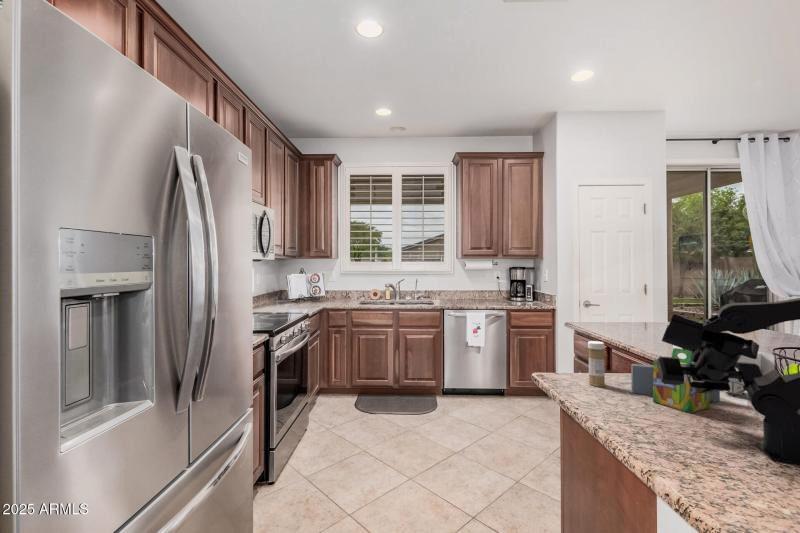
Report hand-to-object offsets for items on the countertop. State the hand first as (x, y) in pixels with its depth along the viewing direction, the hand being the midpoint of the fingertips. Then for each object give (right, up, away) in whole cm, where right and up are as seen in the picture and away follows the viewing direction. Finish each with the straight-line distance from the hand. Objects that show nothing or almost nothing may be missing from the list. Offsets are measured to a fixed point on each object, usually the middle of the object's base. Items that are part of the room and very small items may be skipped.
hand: (697, 391), depth 88 cm
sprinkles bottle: (-10, -7, +26) cm, 29 cm away
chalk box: (+3, -7, +9) cm, 11 cm away
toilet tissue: (+36, -7, +28) cm, 46 cm away
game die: (+24, -7, +17) cm, 30 cm away
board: (+6, -7, +15) cm, 18 cm away
